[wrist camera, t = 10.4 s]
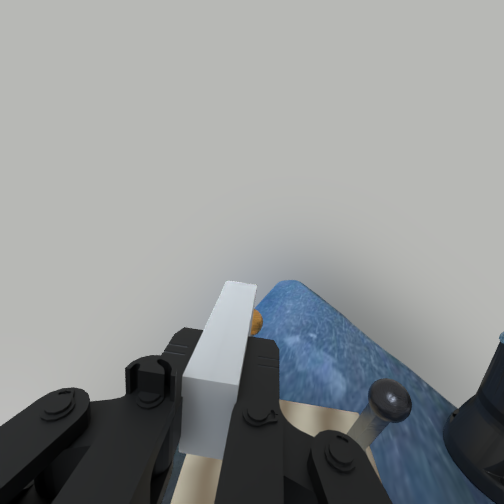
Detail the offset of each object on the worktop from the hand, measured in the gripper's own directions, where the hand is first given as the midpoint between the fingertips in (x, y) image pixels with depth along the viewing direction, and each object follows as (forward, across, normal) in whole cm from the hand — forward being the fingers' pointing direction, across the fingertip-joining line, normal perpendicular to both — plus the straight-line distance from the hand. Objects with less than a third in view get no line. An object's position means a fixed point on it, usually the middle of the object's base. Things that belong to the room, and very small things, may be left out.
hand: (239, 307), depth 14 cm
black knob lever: (+14, +14, -25) cm, 32 cm away
